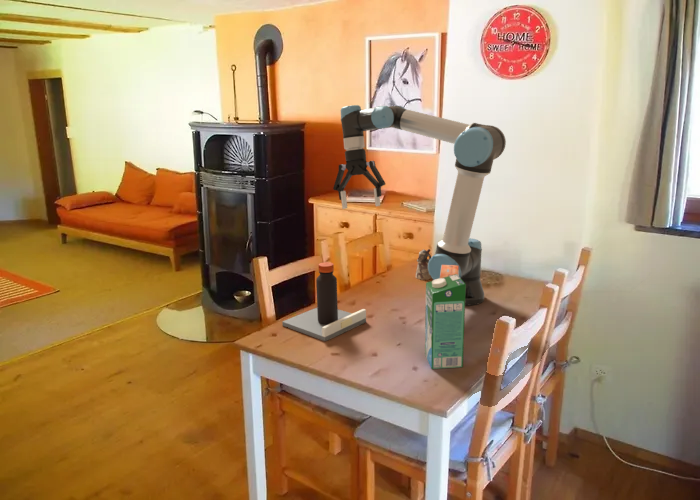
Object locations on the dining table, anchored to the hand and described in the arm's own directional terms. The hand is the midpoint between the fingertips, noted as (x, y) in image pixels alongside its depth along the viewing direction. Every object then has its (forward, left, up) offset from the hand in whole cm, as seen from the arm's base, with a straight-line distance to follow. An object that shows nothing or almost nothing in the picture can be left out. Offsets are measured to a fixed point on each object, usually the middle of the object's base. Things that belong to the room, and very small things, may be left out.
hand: (361, 207), depth 210 cm
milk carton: (-55, +28, -34) cm, 70 cm away
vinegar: (-10, +30, -33) cm, 46 cm away
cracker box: (-45, +10, -34) cm, 57 cm away
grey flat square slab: (-9, +30, -34) cm, 46 cm away
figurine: (-7, -32, -34) cm, 47 cm away
